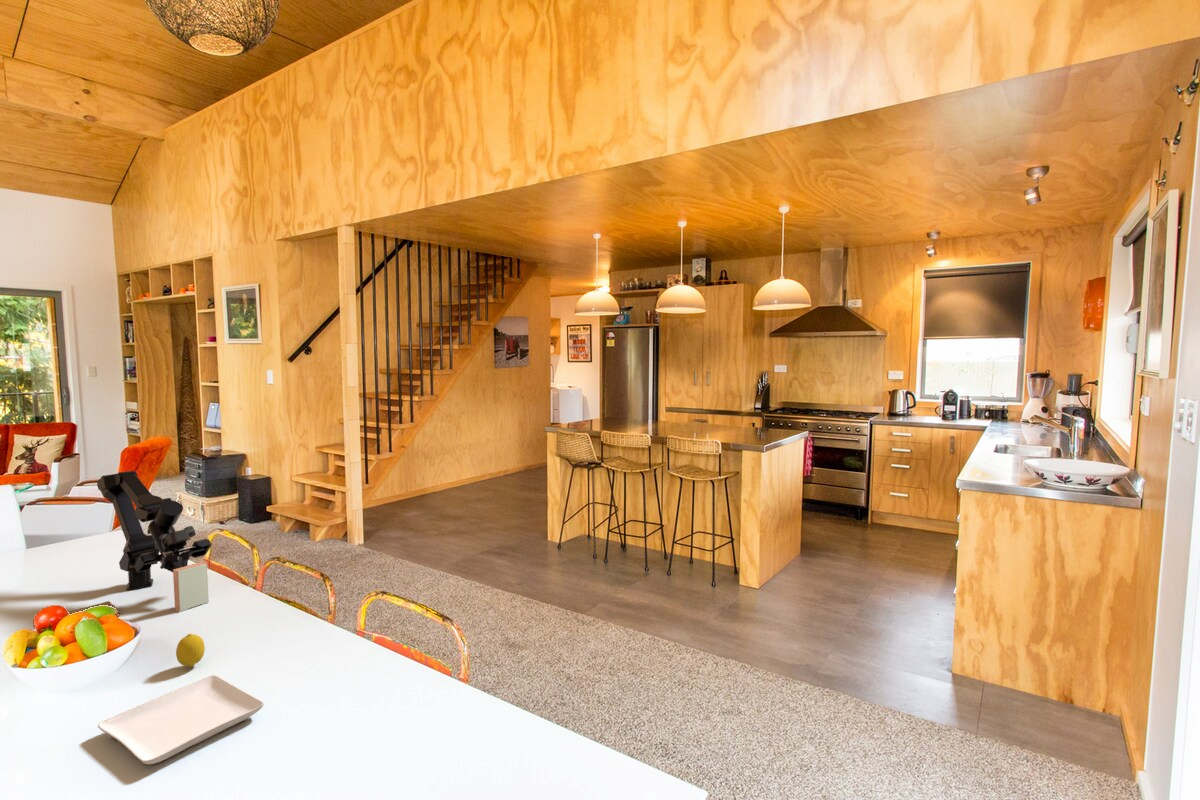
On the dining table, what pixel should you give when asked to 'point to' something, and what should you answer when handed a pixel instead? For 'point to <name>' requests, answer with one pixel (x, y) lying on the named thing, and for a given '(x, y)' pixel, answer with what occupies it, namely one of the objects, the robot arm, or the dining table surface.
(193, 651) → the lemon
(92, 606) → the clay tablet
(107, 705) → the dining table surface
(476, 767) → the dining table surface
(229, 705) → the salad plate
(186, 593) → the tile
